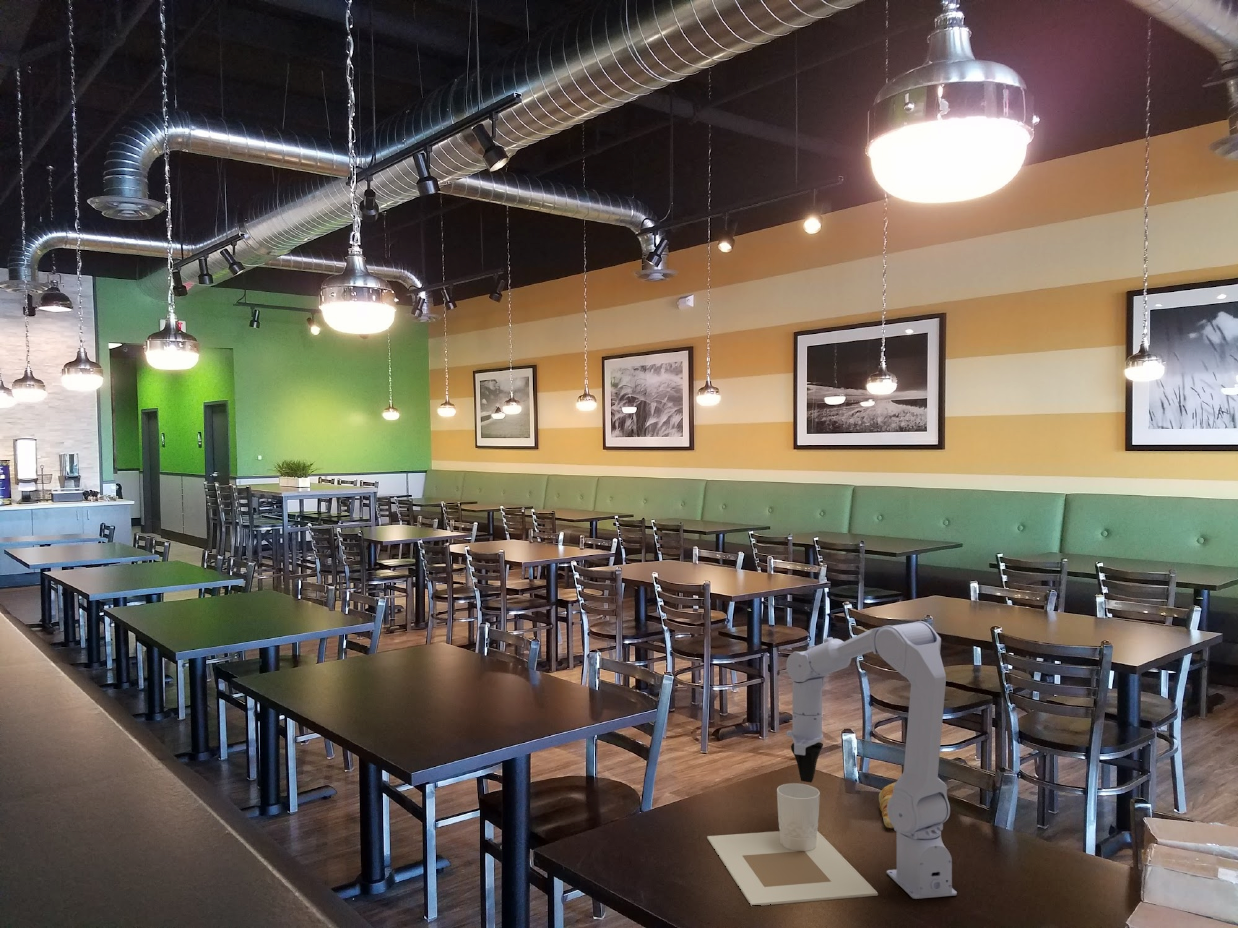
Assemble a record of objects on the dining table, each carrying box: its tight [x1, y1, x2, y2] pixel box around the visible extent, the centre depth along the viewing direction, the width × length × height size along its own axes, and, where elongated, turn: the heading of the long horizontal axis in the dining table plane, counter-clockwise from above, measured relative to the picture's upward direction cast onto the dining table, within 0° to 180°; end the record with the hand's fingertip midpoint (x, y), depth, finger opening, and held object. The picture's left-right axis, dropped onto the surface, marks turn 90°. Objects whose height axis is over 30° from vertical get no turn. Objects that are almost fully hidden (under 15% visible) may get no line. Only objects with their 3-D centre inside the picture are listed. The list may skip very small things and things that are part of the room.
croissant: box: [878, 781, 897, 829], centre depth 175 cm, size 21×10×8 cm, turn 146°
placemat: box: [706, 830, 879, 907], centre depth 152 cm, size 26×22×1 cm
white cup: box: [776, 782, 821, 851], centre depth 160 cm, size 8×8×10 cm
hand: (806, 780), depth 168 cm, fingers closed
